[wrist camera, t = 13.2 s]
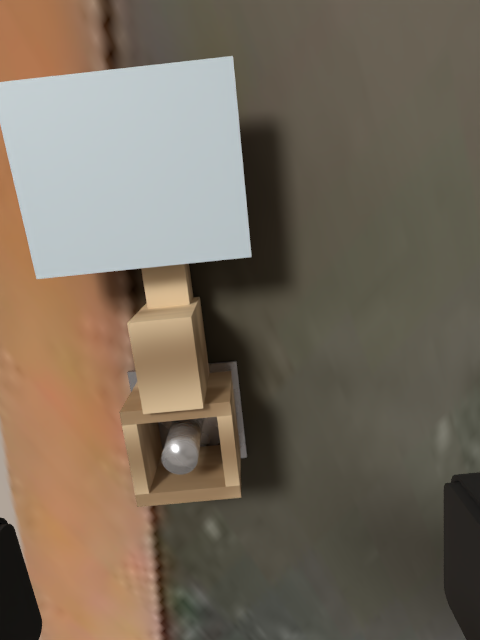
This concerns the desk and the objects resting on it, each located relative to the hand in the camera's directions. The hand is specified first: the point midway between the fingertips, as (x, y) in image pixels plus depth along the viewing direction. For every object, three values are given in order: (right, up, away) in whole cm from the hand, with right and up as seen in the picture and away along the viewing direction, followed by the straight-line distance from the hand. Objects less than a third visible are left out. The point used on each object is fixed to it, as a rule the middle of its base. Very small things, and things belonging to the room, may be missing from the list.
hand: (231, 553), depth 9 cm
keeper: (-5, +13, +15) cm, 21 cm away
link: (-4, +4, +17) cm, 18 cm away
